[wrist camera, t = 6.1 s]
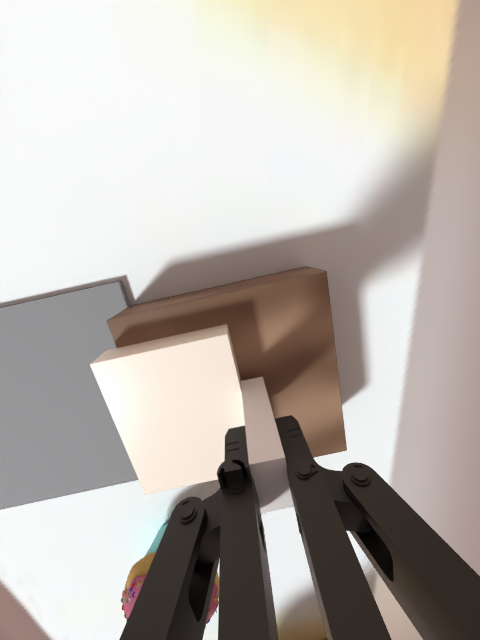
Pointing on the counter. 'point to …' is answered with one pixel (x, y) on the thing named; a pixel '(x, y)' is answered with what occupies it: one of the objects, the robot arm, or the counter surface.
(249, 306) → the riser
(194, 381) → the cream rectangular block
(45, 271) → the counter surface
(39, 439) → the mat
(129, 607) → the cupcake
